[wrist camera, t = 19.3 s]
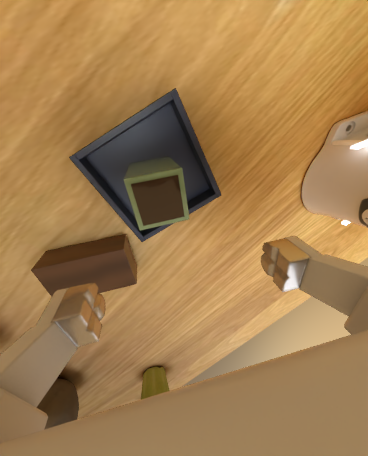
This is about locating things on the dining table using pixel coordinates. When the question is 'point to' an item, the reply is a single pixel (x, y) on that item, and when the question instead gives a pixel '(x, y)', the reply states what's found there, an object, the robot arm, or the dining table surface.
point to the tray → (148, 157)
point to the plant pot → (154, 382)
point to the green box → (156, 192)
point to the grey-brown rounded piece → (60, 403)
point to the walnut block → (88, 265)
